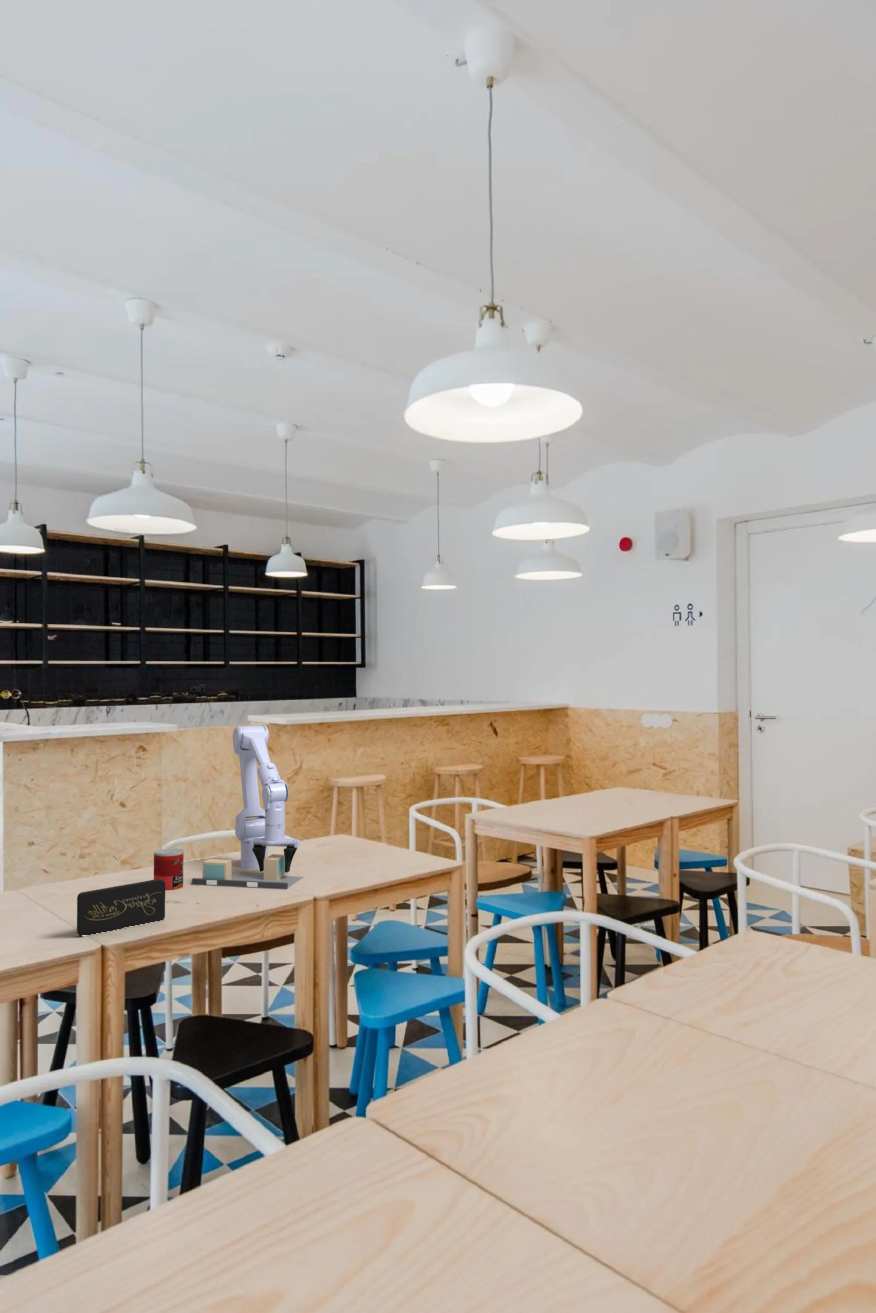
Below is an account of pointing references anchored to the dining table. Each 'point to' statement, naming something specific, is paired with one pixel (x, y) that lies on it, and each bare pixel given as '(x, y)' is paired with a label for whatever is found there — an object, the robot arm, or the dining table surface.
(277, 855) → the carton
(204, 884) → the shelf board
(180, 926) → the dining table surface
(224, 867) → the faced carton
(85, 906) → the nameplate
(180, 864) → the canned food
